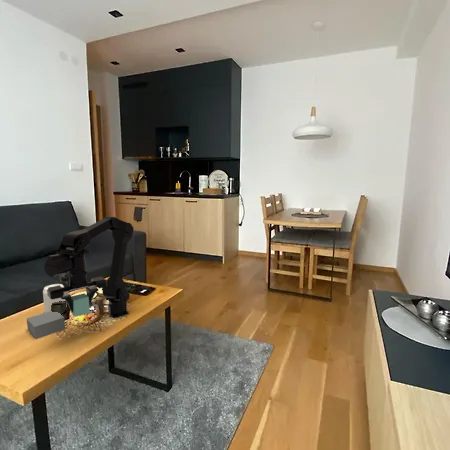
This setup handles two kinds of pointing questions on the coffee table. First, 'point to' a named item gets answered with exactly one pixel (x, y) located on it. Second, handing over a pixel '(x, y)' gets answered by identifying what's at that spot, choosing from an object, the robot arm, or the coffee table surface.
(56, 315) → the charcoal box
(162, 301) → the coffee table surface
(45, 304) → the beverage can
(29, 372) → the coffee table surface
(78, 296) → the teal block
